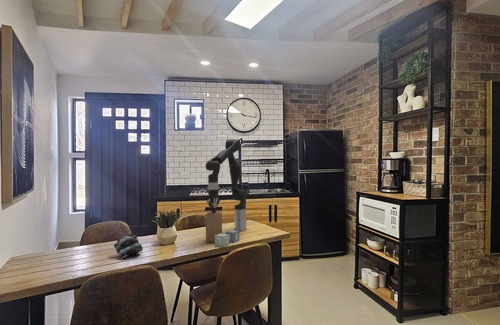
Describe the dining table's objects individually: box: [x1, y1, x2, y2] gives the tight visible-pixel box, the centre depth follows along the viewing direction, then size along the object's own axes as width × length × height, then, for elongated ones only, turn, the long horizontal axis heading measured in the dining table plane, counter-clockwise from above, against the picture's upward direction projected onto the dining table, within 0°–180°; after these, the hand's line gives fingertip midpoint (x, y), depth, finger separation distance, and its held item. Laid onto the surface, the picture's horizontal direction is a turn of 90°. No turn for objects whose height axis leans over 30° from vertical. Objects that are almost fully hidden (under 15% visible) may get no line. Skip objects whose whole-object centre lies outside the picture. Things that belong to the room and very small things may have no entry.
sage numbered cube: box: [214, 232, 230, 248], centre depth 198 cm, size 7×7×7 cm
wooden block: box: [205, 211, 223, 243], centre depth 209 cm, size 10×10×20 cm
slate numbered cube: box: [225, 229, 240, 244], centre depth 208 cm, size 7×7×7 cm
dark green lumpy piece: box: [113, 234, 143, 260], centre depth 179 cm, size 15×12×14 cm
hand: (213, 212), depth 209 cm, fingers closed
